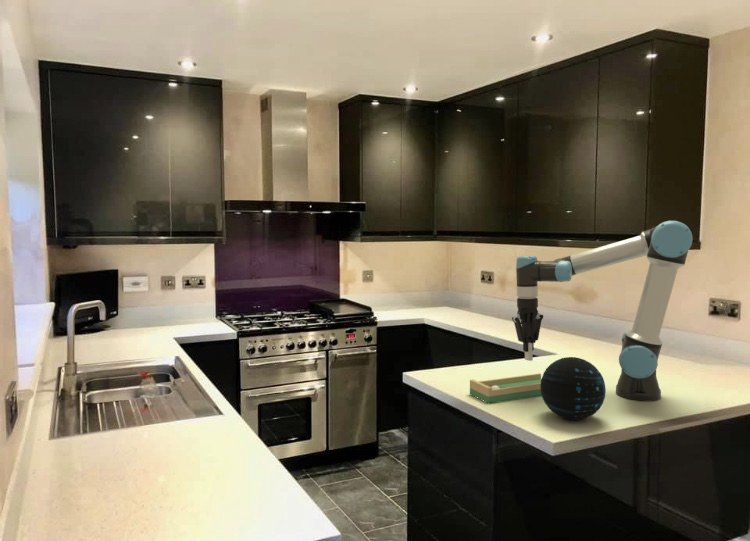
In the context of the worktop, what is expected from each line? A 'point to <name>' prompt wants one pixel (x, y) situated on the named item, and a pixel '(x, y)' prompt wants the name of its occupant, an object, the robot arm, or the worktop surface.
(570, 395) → the decorative sphere
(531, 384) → the tray
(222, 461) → the worktop surface
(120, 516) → the worktop surface
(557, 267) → the robot arm
